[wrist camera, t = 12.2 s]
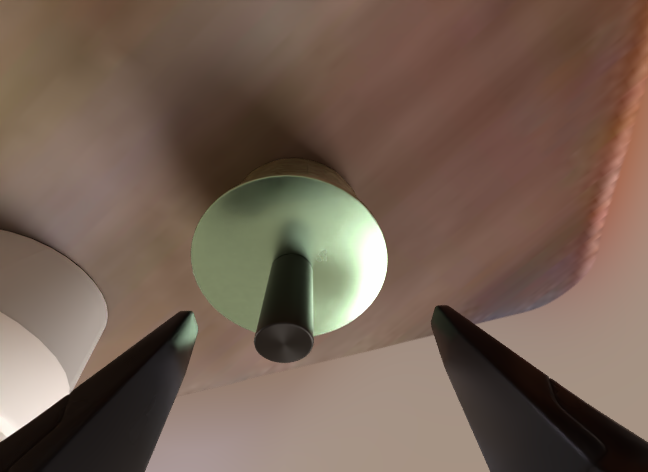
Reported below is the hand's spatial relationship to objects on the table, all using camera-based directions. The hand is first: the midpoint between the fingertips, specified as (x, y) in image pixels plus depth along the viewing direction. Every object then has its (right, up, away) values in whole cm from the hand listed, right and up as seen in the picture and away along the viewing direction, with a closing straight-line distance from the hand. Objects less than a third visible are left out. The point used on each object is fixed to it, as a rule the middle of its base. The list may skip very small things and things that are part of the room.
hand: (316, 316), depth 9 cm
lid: (-2, +1, +6) cm, 6 cm away
